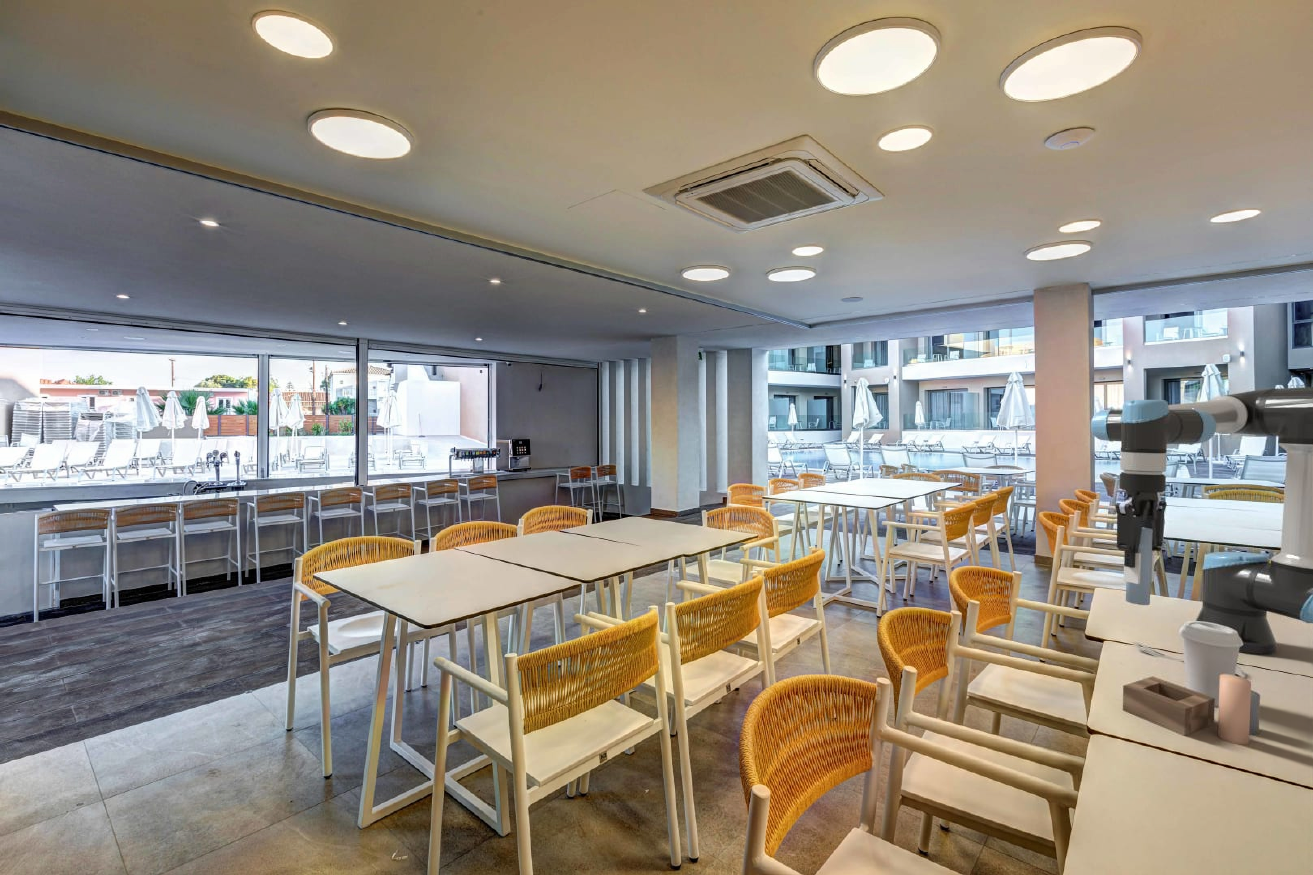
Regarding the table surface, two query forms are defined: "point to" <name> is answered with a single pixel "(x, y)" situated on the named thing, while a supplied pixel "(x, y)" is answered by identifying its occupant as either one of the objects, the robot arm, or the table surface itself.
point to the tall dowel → (1142, 572)
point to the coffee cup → (1208, 655)
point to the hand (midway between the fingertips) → (1138, 580)
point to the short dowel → (1254, 713)
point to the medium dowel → (1234, 709)
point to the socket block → (1169, 705)
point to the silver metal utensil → (1157, 654)
